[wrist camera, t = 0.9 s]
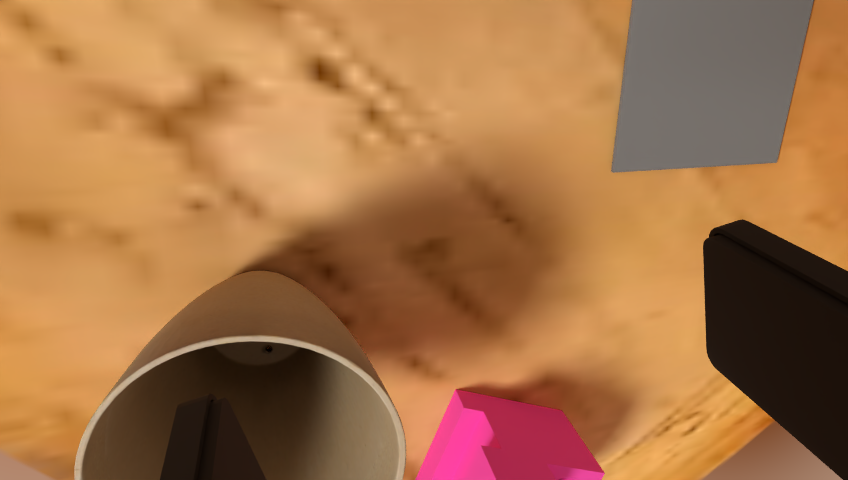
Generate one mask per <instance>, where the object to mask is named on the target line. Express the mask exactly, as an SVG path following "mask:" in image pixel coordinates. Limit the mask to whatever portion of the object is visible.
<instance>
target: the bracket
mask: <svg viewBox="0 0 848 480" xmlns="http://www.w3.org/2000/svg"><path fill="white" fill-rule="evenodd" d="M604 474H605V473H604V471H603V470H602V469H601V467H600V466H599V464H598V463H597V461H596V460H595V458H594V457H593V455H592V454H591V452H590V451H589V450H588V448H587V447H586V445H585V444H584V442H583V441H582V439H581V438H580V436H579V435H578V433H577V432H576V430H575V429H574V428H573V426H572V425H571V423H570V422H569V420H568V419H567V417H566V416H565V414H564V413H563V411H562V410H557V409H552V408H547V407H542V406H537V405H532V404H527V403H522V402H517V401H512V400H507V399H502V398H497V397H492V396H487V395H482V394H477V393H472V392H467V391H462V390H457V389H456V390H455V392H454V394H453V396H452V399H451V401H450V403H449V405H448V408H447V410H446V412H445V414H444V417H443V419H442V421H441V423H440V426H439V428H438V430H437V432H436V435H435V437H434V439H433V441H432V444H431V446H430V448H429V450H428V453H427V455H426V457H425V460H424V462H423V464H422V466H421V469H420V471H419V473H418V475H417V478H416V480H601V479H602V477H603V476H604Z"/></svg>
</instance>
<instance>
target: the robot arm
mask: <svg viewBox="0 0 848 480" xmlns="http://www.w3.org/2000/svg"><path fill="white" fill-rule="evenodd" d="M703 256H704V286H705V317H706V348H707V354H708V357H709V359H710V361H711V363H712V364H713V366H714V367H715V368H716V369H717V370H718V371H719V372H720V373H722V374H723V375H724V376H725V377H726V378H727V379H728V380H730V381H731V382H732V383H733V384H734V385H735V386H736V387H738V388H739V389H740V390H741V391H742V392H743V393H744V394H746V395H747V396H748V397H749V398H750V399H751V400H752V401H754V402H755V403H756V404H757V405H758V406H759V407H760V408H762V409H763V410H764V411H765V412H766V413H767V414H768V415H770V416H771V417H772V418H773V419H774V420H775V421H777V422H778V423H779V424H780V425H781V426H782V427H783V428H785V429H786V430H787V431H788V432H789V433H790V434H792V436H794V437H795V438H796V439H797V440H798V441H799V442H801V443H802V444H803V445H804V446H805V447H806V448H807V449H809V450H810V451H811V452H812V453H813V454H814V455H815V456H817V457H818V458H819V459H820V460H821V461H822V462H823V463H825V464H826V465H827V466H828V467H829V468H830V469H832V470H833V471H834V472H835V473H836V474H837V475H838V476H839V477H841V478H842V479H843V480H848V271H846V270H844V269H842V268H840V267H838V266H836V265H834V264H832V263H830V262H828V261H826V260H824V259H822V258H820V257H818V256H816V255H814V254H812V253H810V252H808V251H806V250H804V249H802V248H800V247H798V246H796V245H794V244H792V243H790V242H788V241H786V240H784V239H782V238H780V237H778V236H776V235H774V234H772V233H770V232H768V231H766V230H764V229H762V228H760V227H758V226H756V225H754V224H752V223H750V222H748V221H746V220H738V221H735V222H732V223H729V224H726V225H722V226H719V227H716V228H714V229H712V230H711V232H710V234H709V238H707V239H706V240H705V241H704V244H703ZM160 480H266V478H265V476H264V474H263V472H262V469H261V467H260V465H259V463H258V461H257V459H256V457H255V455H254V453H253V451H252V449H251V446H250V444H249V442H248V440H247V438H246V436H245V434H244V432H243V430H242V428H241V426H240V423H239V421H238V419H237V417H236V415H235V413H234V411H233V409H232V407H231V405H230V403H229V401H228V400H227V398H225V397H224V398H221V399H218V400H217V398H216V397H215V396H214V395H213V394H211V393H210V394H207V395H204V396H201V397H198V398H195V399H192V400H189V401H186V402H183V403H180V404H179V405H178V406H177V409H176V413H175V417H174V421H173V426H172V430H171V434H170V438H169V442H168V447H167V451H166V455H165V459H164V464H163V468H162V472H161V476H160Z"/></svg>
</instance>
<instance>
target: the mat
mask: <svg viewBox="0 0 848 480" xmlns="http://www.w3.org/2000/svg"><path fill="white" fill-rule="evenodd" d="M813 1H814V0H632V8H631V16H630V24H629V32H628V40H627V49H626V57H625V65H624V73H623V81H622V89H621V97H620V105H619V113H618V121H617V130H616V138H615V146H614V154H613V162H612V170H611V171H612V172H629V171H646V170H662V169H679V168H696V167H712V166H729V165H746V164H762V163H777V159H778V155H779V151H780V146H781V142H782V138H783V133H784V129H785V124H786V120H787V116H788V111H789V107H790V102H791V98H792V94H793V89H794V85H795V80H796V76H797V72H798V67H799V63H800V58H801V54H802V50H803V45H804V41H805V37H806V32H807V28H808V23H809V19H810V15H811V10H812V6H813Z"/></svg>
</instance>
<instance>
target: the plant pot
mask: <svg viewBox="0 0 848 480" xmlns="http://www.w3.org/2000/svg"><path fill="white" fill-rule="evenodd" d="M267 346H271V347H272V351H270V352H268V351H266V347H267ZM210 393H211V394H213V395H214V396H215V397H216V398H217V400H218V399H221V398H224V397H225V398H227V400H228V401H229V403H230V405H231V407H232V409H233V411H234V413H235V415H236V417H237V419H238V421H239V423H240V426H241V428H242V430H243V432H244V434H245V436H246V438H247V440H248V442H249V444H250V446H251V449H252V451H253V453H254V455H255V457H256V459H257V461H258V463H259V465H260V467H261V469H262V472H263V474H264V476H265V478H266V480H403V475H404V470H405V465H406V440H405V434H404V430H403V426H402V423H401V420H400V417H399V415H398V412H397V410H396V408H395V406H394V404H393V402H392V400H391V398H390V397H389V395H388V393H387V391H386V389H385V387H384V385H383V383H382V382H381V380H380V378H379V376H378V375H377V373H376V371H375V369H374V368H373V366H372V364H371V363H370V361H369V359H368V358H367V356H366V355H365V353H364V351H363V350H362V348H361V347H360V345H359V344H358V342H357V341H356V340H355V338H354V337H353V336H352V334H351V333H350V332H349V330H348V329H347V328H346V327H345V326H344V324H343V323H342V322H341V321H340V320H339V318H338V317H337V316H336V315H335V314H334V313H333V312H332V311H331V310H330V309H329V308H328V307H327V306H326V305H325V304H324V303H323V302H322V301H321V300H320V299H319V298H318V297H316V296H315V295H314V294H313V293H312V292H310V291H309V290H308V289H306V288H305V287H304V286H302V285H301V284H299V283H297V282H296V281H294V280H292V279H291V278H289V277H287V276H284V275H282V274H279V273H276V272H271V271H250V272H245V273H241V274H238V275H236V276H233V277H231V278H229V279H227V280H225V281H223V282H221V283H219V284H217V285H215V286H214V287H212V288H211V289H209V290H208V291H206V292H205V293H203V294H202V295H200V296H199V297H197V298H196V299H195V300H193V301H192V302H191V303H189V304H188V305H187V306H186V307H185V308H184V309H183V310H181V311H180V312H179V313H178V314H177V315H176V316H174V317H173V318H172V319H171V320H170V321H169V322H168V323H167V324H166V325H165V326H164V327H163V328H162V329H161V330H160V331H159V332H158V333H157V334H156V335H155V336H154V337H153V339H152V340H151V341H150V342H149V343H148V344H147V345H146V346H145V347H144V349H143V350H142V351H141V352H140V354H139V355H138V356H137V357H136V359H135V360H134V361H133V362H132V364H131V365H130V366H129V367H128V369H127V370H126V371H125V372H124V374H123V375H122V376H121V378H120V379H119V380H118V382H117V383H116V384H115V386H114V387H113V388H112V390H111V391H110V392H109V394H108V395H107V396H106V398H105V399H104V400H103V402H102V403H101V405H100V406H99V407H98V409H97V410H96V412H95V413H94V415H93V416H92V418H91V420H90V422H89V423H88V425H87V427H86V430H85V432H84V434H83V436H82V439H81V442H80V445H79V448H78V451H77V456H76V461H75V480H160V476H161V472H162V468H163V464H164V459H165V455H166V451H167V447H168V442H169V438H170V434H171V430H172V426H173V421H174V417H175V413H176V409H177V406H178V405H179V404H180V403H183V402H186V401H189V400H192V399H195V398H198V397H201V396H204V395H207V394H210Z"/></svg>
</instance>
